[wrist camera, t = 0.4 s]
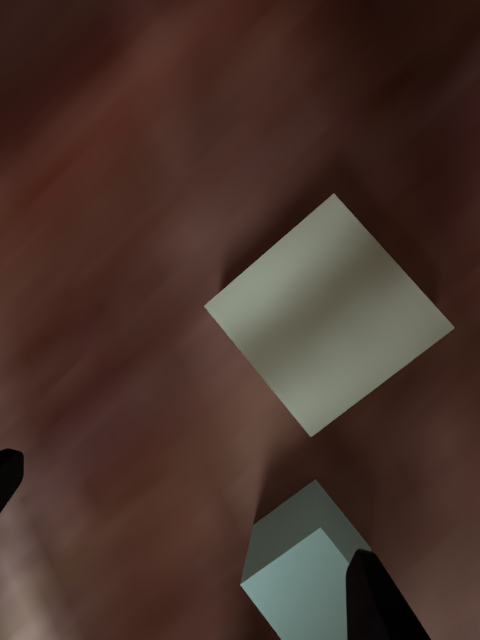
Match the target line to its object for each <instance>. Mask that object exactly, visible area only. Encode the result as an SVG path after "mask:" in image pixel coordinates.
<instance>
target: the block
mask: <svg viewBox="0 0 480 640" xmlns="http://www.w3.org/2000/svg"><path fill="white" fill-rule="evenodd" d="M359 548H361V549H364V550H368V551H371V548H370V546H369V545H368V544H367V542H366V541H365V540H364V539H363V538H362V536H361V535H360V534H359V533H358V531H357V530H356V529H355V528H354V526H353V525H352V524H351V523H350V521H349V520H348V519H347V518H346V516H345V515H344V514H343V513H342V511H341V510H340V509H339V508H338V506H337V505H336V504H335V503H334V501H333V500H332V499H331V498H330V496H329V495H328V494H327V493H326V491H325V490H324V489H323V488H322V487H321V485H320V484H319V483H318V482H317V480H316V479H315V480H313V481H312V482H311V483H309V484H308V485H307V486H305V487H304V488H303V489H301V490H300V491H299V492H297V493H296V494H294V495H293V496H292V497H290V498H289V499H288V500H286V501H285V502H284V503H282V504H281V505H280V506H278V507H277V508H275V509H274V510H273V511H271V512H270V513H269V514H267V515H266V516H265V517H263V518H262V519H261V520H259V521H258V522H256V523H255V524H254V525H253V528H252V532H251V537H250V541H249V546H248V551H247V555H246V560H245V564H244V569H243V574H242V578H241V583H240V585H241V586H242V588H243V589H244V590H245V592H246V593H247V594H248V596H249V597H250V598H251V600H252V601H253V602H254V604H255V605H256V606H257V608H258V609H259V610H260V612H261V613H262V614H263V616H264V617H265V618H266V620H267V621H268V622H269V624H270V625H271V626H272V628H273V629H274V630H275V632H276V633H277V634H278V636H279V637H280V638H281V640H347V615H346V582H345V578H346V571H347V568H348V566H349V564H350V562H351V559H352V557H353V555H354V553H355V551H356V550H357V549H359ZM371 552H372V551H371Z"/></svg>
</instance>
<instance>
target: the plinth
mask: <svg viewBox="0 0 480 640" xmlns="http://www.w3.org/2000/svg"><path fill="white" fill-rule="evenodd" d="M204 307H205V308H206V309H207V310H208V312H209V313H210V314H211V315H212V317H213V318H214V319H215V320H216V321H217V323H218V324H219V325H220V326H221V328H222V329H223V330H224V331H225V332H226V334H227V335H228V336H229V337H230V339H231V340H232V341H233V342H234V344H235V345H236V346H237V347H238V348H239V350H240V351H241V352H242V353H243V355H244V356H245V357H246V358H247V359H248V361H249V362H250V363H251V364H252V366H253V367H254V368H255V369H256V371H257V372H258V373H259V374H260V375H261V377H262V378H263V379H264V380H265V382H266V383H267V384H268V385H269V387H270V388H271V389H272V390H273V391H274V393H275V394H276V395H277V396H278V398H279V399H280V400H281V401H282V402H283V404H284V405H285V406H286V407H287V409H288V410H289V411H290V412H291V414H292V415H293V416H294V417H295V418H296V420H297V421H298V422H299V423H300V425H301V426H302V427H303V428H304V429H305V431H306V432H307V433H308V434H309V436H310V437H312V436H313V435H315V434H316V433H317V432H319V431H320V430H321V429H323V428H324V427H325V426H327V425H328V424H329V423H330V422H332V421H333V420H334V419H336V418H337V417H338V416H340V415H341V414H342V413H344V412H345V411H346V410H348V409H349V408H350V407H352V406H353V405H354V404H356V403H357V402H358V401H359V400H361V399H362V398H363V397H365V396H366V395H367V394H369V393H370V392H371V391H373V390H374V389H375V388H377V387H378V386H379V385H381V384H382V383H383V382H385V381H386V380H387V379H388V378H390V377H391V376H392V375H394V374H395V373H396V372H398V371H399V370H400V369H402V368H403V367H404V366H406V365H407V364H408V363H410V362H411V361H412V360H414V359H415V358H416V357H417V356H419V355H420V354H421V353H423V352H424V351H425V350H427V349H428V348H429V347H431V346H432V345H433V344H435V343H436V342H437V341H439V340H440V339H441V338H443V337H444V336H445V335H446V334H448V333H449V332H450V331H452V330H453V329H454V328H455V327H454V326H453V325H452V324H451V323H450V322H449V321H448V320H447V318H446V317H445V316H444V315H443V314H442V313H441V312H440V311H439V310H438V308H437V307H436V306H435V305H434V304H433V303H432V302H431V301H430V300H429V298H428V297H427V296H426V295H425V294H424V293H423V292H422V291H421V290H420V288H419V287H418V286H417V285H416V284H415V283H414V282H413V281H412V280H411V278H410V277H409V276H408V275H407V274H406V273H405V272H404V271H403V270H402V268H401V267H400V266H399V265H398V264H397V263H396V262H395V261H394V260H393V258H392V257H391V256H390V255H389V254H388V253H387V252H386V251H385V250H384V248H383V247H382V246H381V245H380V244H379V243H378V242H377V241H376V240H375V238H374V237H373V236H372V235H371V234H370V233H369V232H368V231H367V230H366V228H365V227H364V226H363V225H362V224H361V223H360V222H359V221H358V220H357V218H356V217H355V216H354V215H353V214H352V213H351V212H350V211H349V209H348V208H347V207H346V206H345V205H344V204H343V203H342V202H341V201H340V199H339V198H338V197H337V196H336V195H335V194H332V195H331V196H330V197H329V198H328V199H327V200H326V201H324V202H323V203H322V204H321V205H320V206H319V207H317V208H316V209H315V210H314V211H313V212H312V213H311V214H309V215H308V216H307V217H306V218H305V219H304V220H303V221H301V222H300V223H299V224H298V225H297V226H296V227H294V228H293V229H292V230H291V231H290V232H289V233H288V234H286V235H285V236H284V237H283V238H282V239H281V240H279V241H278V242H277V243H276V244H275V245H274V246H273V247H271V248H270V249H269V250H268V251H267V252H266V253H265V254H263V255H262V256H261V257H260V258H259V259H258V260H256V261H255V262H254V263H253V264H252V265H251V266H250V267H248V268H247V269H246V270H245V271H244V272H243V273H242V274H240V275H239V276H238V277H237V278H236V279H235V280H233V281H232V282H231V283H230V284H229V285H228V286H227V287H225V288H224V289H223V290H222V291H221V292H220V293H218V294H217V295H216V296H215V297H214V298H213V299H212V300H210V301H209V302H208V303H207V304H206V305H205V306H204Z"/></svg>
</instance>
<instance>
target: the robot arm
mask: <svg viewBox="0 0 480 640" xmlns="http://www.w3.org/2000/svg"><path fill="white" fill-rule="evenodd" d="M23 475H24V456H23V453H22V452H20V451H17V450H13V449H9V448H8V449H4V450H1V451H0V513H1V511H2V510H3V508H4V507H5V505H6V504H7V502H8V501H9V500H10V498H11V497H12V495H13V494H14V492H15V491H16V489H17V488H18V487H19V485H20V483H21V481H22V479H23ZM345 582H346V615H347V640H431V639H430V637H429V636H428V634H427V632H426V631H425V629H424V628H423V626H422V625H421V623H420V622H419V620H418V619H417V617H416V615H415V614H414V612H413V611H412V609H411V608H410V606H409V605H408V603H407V602H406V600H405V599H404V597H403V595H402V594H401V592H400V591H399V589H398V588H397V586H396V585H395V583H394V582H393V580H392V578H391V577H390V575H389V574H388V572H387V571H386V569H385V568H384V566H383V565H382V563H381V561H380V560H379V558H378V557H377V555H376V554H375V553H373V552H371V551H368V550H364V549H361V548H359V549H357V550H356V551H355V553H354V555H353V557H352V559H351V562H350V564H349V566H348V568H347V571H346V578H345Z"/></svg>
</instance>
